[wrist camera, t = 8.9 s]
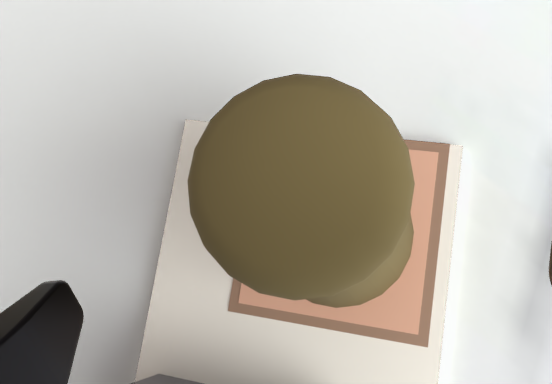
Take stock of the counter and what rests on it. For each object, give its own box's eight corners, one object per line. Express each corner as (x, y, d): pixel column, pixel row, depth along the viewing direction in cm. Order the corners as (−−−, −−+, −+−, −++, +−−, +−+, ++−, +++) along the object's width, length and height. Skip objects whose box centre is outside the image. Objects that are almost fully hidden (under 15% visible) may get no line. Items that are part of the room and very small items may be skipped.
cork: (353, 340, 20) (313, 392, 10) (236, 246, 22) (92, 202, 11) (445, 215, 20) (507, 131, 10) (322, 132, 22) (261, -18, 11)
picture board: (406, 666, 18) (410, 746, 15) (104, 568, 21) (52, 619, 18) (461, 149, 21) (474, 123, 18) (190, 123, 24) (159, 96, 21)
